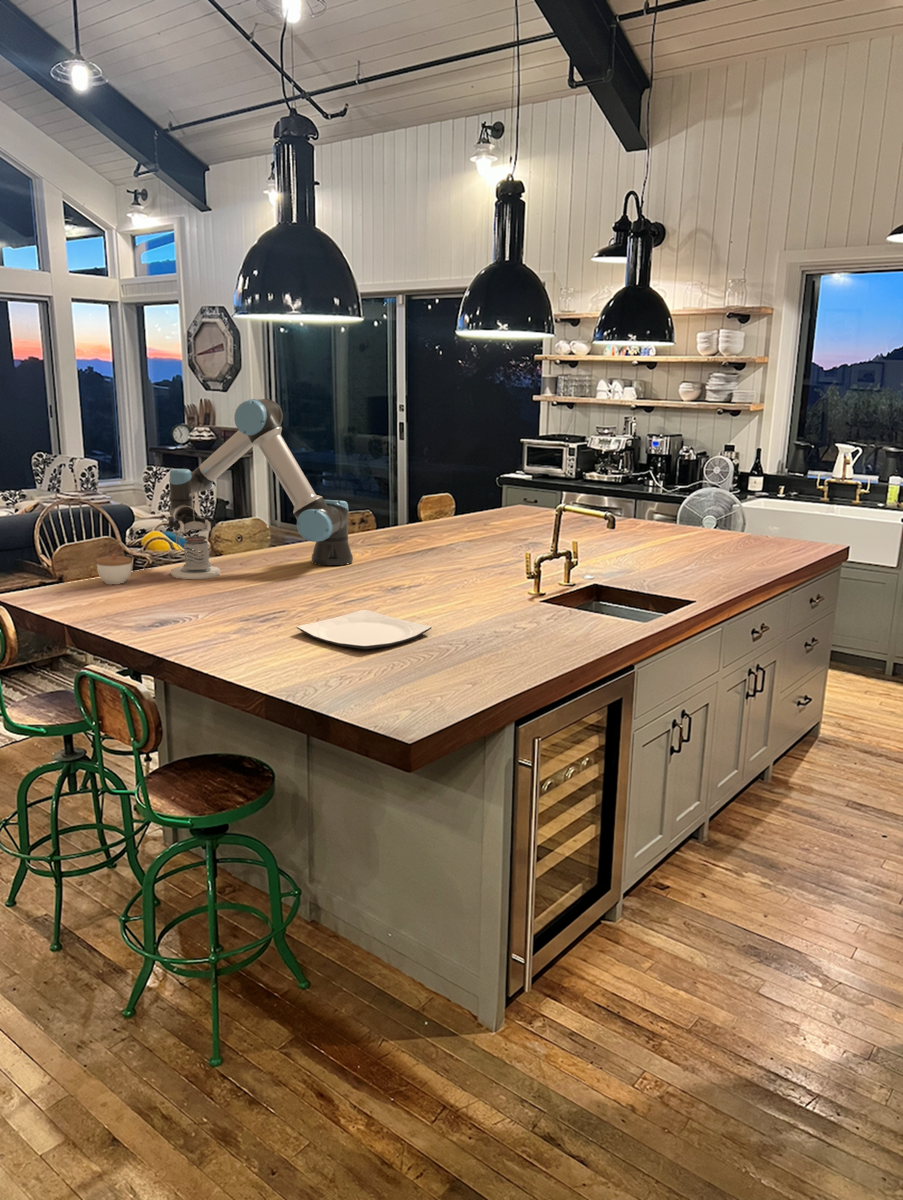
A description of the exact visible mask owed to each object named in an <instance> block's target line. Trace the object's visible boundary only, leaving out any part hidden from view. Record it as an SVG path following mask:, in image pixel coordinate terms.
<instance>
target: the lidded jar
mask: <svg viewBox="0 0 903 1200" xmlns="http://www.w3.org/2000/svg"><path fill="white" fill-rule="evenodd" d="M132 561H133V559H132V558H131V557H130V556H125V555H116V553H112V554H111V555H109V556H102V557H98V558H97V559H96V560H95V562H96V568H97V573H98V575H99V578H100V579H101V580H102V581H103V582H104V583H105V584H106V585H112V584H115V585H121V584H120V583H123V582H125V583H126V581H128V579H129V578H130V576H131V573H132V567H133V566H132V565H133V564H132ZM123 584H124V583H123Z"/></svg>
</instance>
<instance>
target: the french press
mask: <svg viewBox="0 0 903 1200" xmlns="http://www.w3.org/2000/svg"><path fill="white" fill-rule="evenodd" d="M189 496H191V497H192V503H194V497H196V494H195V493H190V494H189ZM194 508H195V507H194V506H192V509H193V515H194V510H195V509H194ZM206 527H207V525H206V524H204V523H202V522H196V521H195V520H194V521H193V522H189V523H186V524H185V525H184V532H181V531H180V530H179V531H178V532H177V534H176V536H175V541H176V542H175V543H176V545H177V547H178V549H179V550H180V551H182V552H183V553H184V563H185V564H183V568H185V569H204V568H209V567H211V566H213V564H212V563H211V562H210V558H209V546H208V545H209V543H208V541H207V537H206V536H205V535H196V533H197V532H194V535H191V536H186V537H185V538H184V540H185V541H186V542H183V546H182V545H181V541H180V540H178V539H180V535H181V533H182V534H183V535H185V534H187V530H203V529H206ZM179 546H180V547H181V548H180V547H179Z"/></svg>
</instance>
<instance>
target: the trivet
mask: <svg viewBox="0 0 903 1200" xmlns="http://www.w3.org/2000/svg"><path fill="white" fill-rule="evenodd" d="M183 566H184V565H183ZM183 566H178V567H174V568H172V569H170V576H171V575H172V576H173V577H172V576H171V577H172V578H174V577H178V578H183V579H182V580H186V579H198V580H206V579H207V580H209V579H214V578H217V577H219V576H220V575H221V569H220V567H217V566H215V565H214V566H213V565H212V566H211V567H209V568H204V569H185V568H183ZM218 575H219V576H218ZM216 576H217V577H216ZM213 577H214V578H213ZM178 578H177V579H178ZM208 578H209V579H208Z"/></svg>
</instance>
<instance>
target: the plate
mask: <svg viewBox="0 0 903 1200" xmlns="http://www.w3.org/2000/svg"><path fill="white" fill-rule="evenodd" d="M296 629H298V630H299V631H300V632H302V633H304V634H305V635H308V636H309V637H312V638H313V639H316V640H319V641H322V642H325V643H328V644H329V643H330V644H333V645H337V646H340V647H347V648H354V649H361V650H369V649H377V648H384V647H389V646H390V647H391V646H392V645H393V646H394V645H397V644H400V643H404V642H407V641H410V640H413V639H416V638H418V637H419V636H421V635H423V634H425V633H427V632H428V631H430V630H432V626H431V625H428V624H422V623H418V622H412V621H408V620H404V619H400V618H397V617H392V616H390V615H385V614H381V613H378V612H375V611H371V610H368V609H361V610H357V611H354V612H350V613H346V614H343V615H340V616H335V617H332V618H328V619H324V620H323V619H322V620H319V621H316V622H311V623H306V624H300V625H297V626H296Z"/></svg>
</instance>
